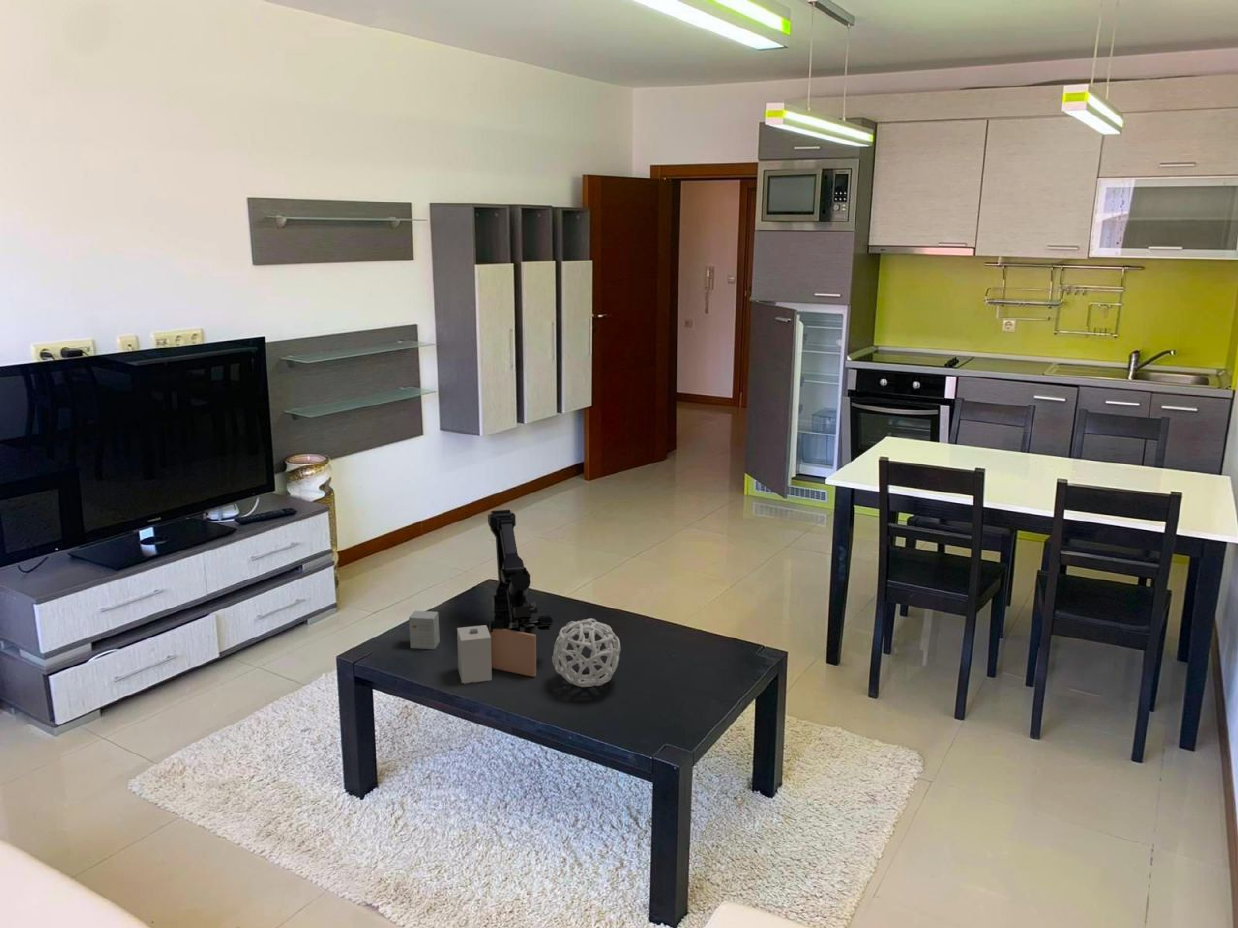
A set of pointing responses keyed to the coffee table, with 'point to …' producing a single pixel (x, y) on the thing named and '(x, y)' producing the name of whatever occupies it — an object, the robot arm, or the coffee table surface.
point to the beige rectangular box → (474, 654)
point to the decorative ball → (610, 652)
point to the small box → (424, 629)
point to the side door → (513, 651)
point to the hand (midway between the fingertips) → (524, 652)
